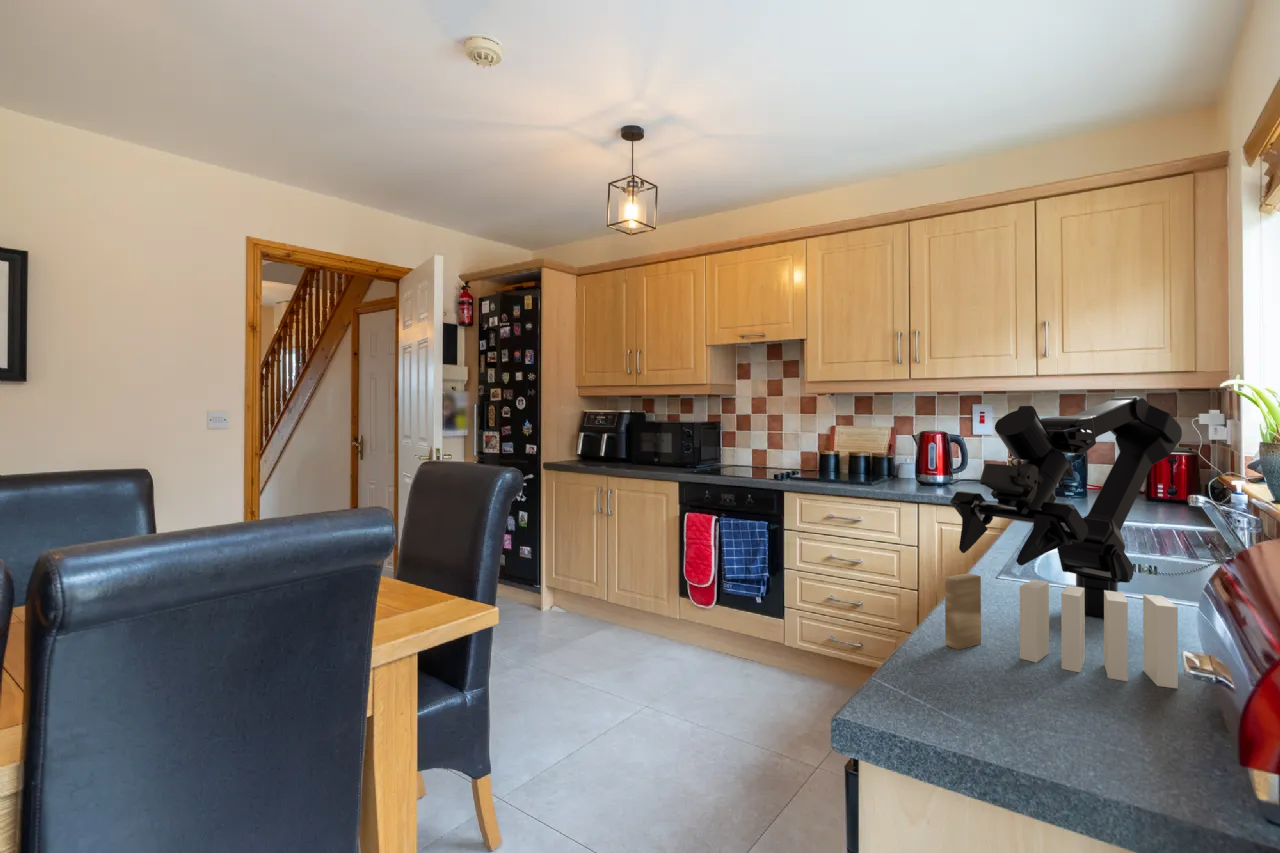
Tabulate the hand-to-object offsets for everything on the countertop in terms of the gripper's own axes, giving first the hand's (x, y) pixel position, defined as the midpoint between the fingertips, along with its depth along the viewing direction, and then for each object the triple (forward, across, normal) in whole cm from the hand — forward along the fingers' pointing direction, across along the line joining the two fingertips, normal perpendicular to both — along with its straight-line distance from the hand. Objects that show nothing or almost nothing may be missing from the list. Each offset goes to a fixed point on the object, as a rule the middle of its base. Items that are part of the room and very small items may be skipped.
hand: (988, 557), depth 93 cm
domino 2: (+9, +7, +8) cm, 14 cm away
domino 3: (+8, +12, +9) cm, 17 cm away
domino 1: (+13, 0, +5) cm, 14 cm away
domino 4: (+7, +16, +11) cm, 20 cm away
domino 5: (+5, +19, +13) cm, 23 cm away
